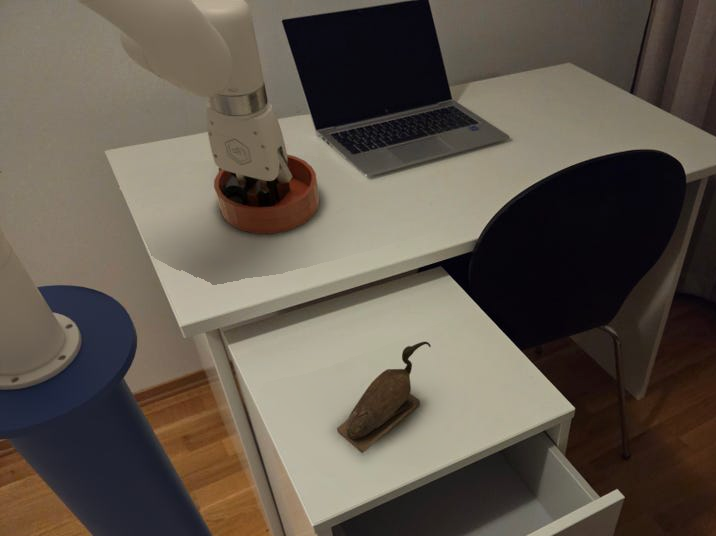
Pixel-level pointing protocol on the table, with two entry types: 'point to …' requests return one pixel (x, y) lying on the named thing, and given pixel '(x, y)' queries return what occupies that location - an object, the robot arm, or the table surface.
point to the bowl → (286, 212)
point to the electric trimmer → (234, 191)
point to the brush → (253, 192)
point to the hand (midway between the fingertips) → (262, 206)
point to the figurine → (381, 405)
